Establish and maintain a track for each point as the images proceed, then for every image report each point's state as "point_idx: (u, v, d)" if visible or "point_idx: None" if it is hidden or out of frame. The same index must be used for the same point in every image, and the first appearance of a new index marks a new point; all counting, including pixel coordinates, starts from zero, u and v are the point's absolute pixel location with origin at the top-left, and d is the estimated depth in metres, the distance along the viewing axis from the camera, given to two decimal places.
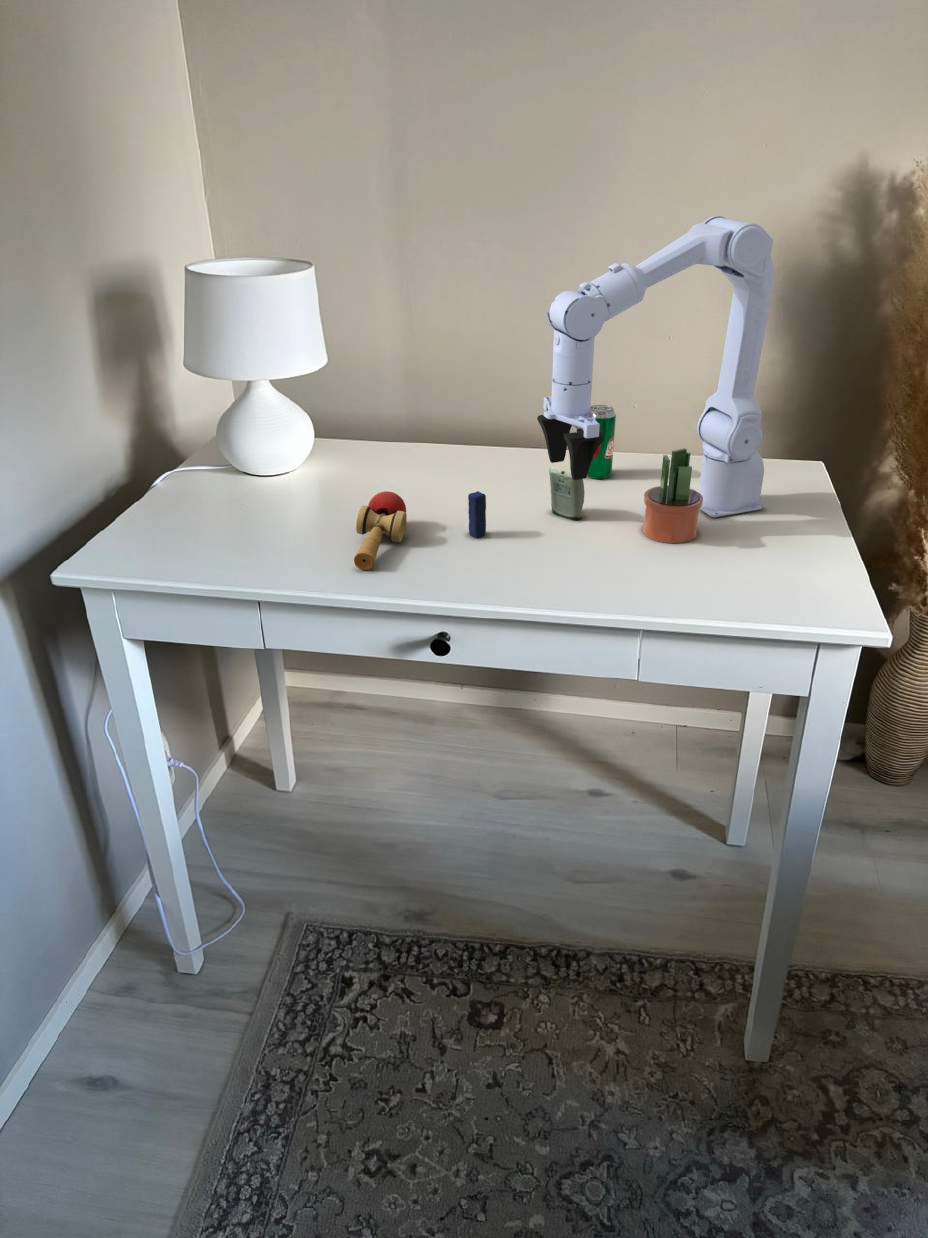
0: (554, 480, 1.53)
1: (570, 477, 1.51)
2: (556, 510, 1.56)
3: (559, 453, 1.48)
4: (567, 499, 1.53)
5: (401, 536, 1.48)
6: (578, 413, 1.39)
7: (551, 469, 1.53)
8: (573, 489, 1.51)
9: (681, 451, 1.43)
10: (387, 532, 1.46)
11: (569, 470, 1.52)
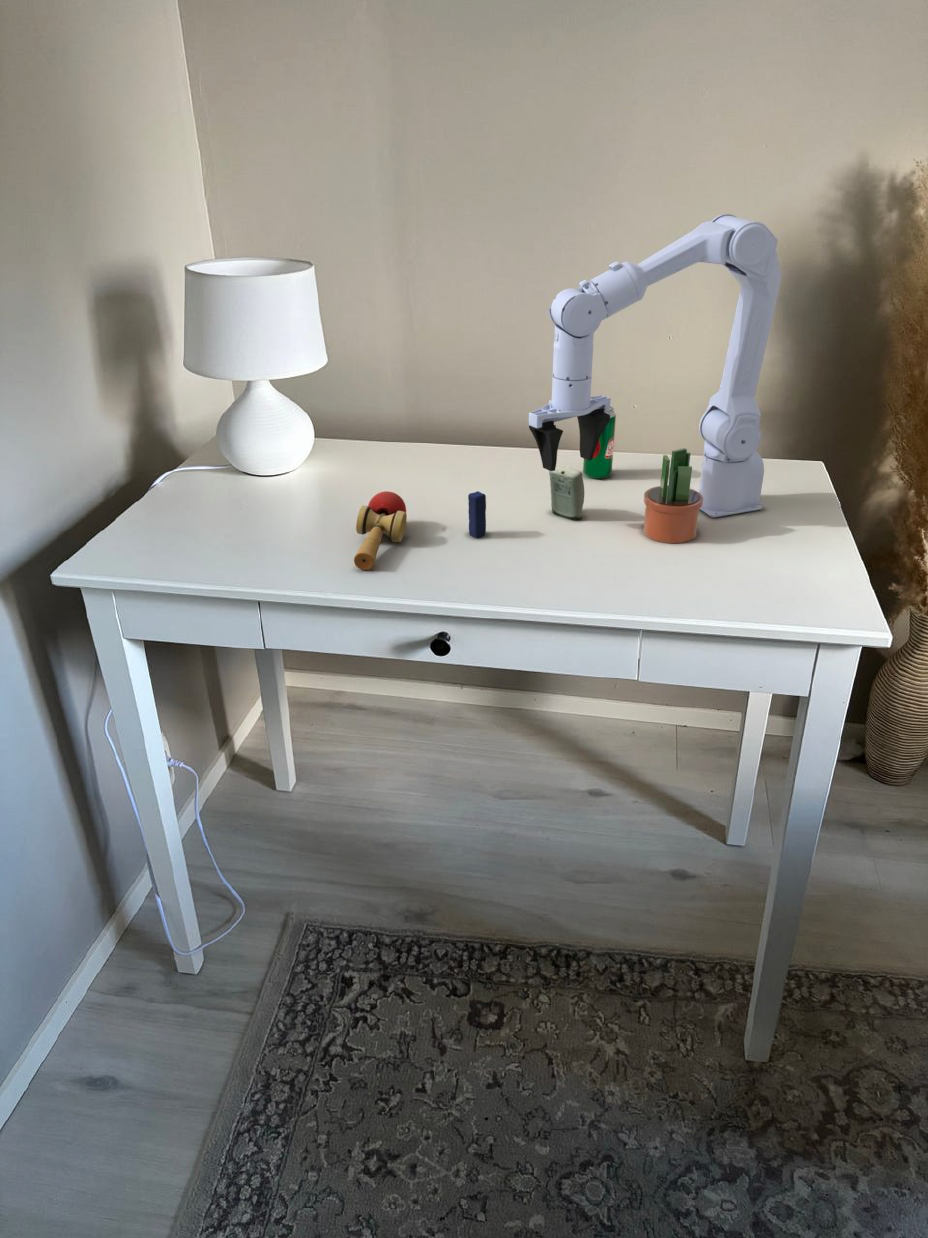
0: (554, 480, 1.53)
1: (570, 477, 1.51)
2: (556, 510, 1.56)
3: (586, 450, 1.50)
4: (567, 499, 1.53)
5: (401, 536, 1.48)
6: (555, 406, 1.43)
7: None
8: (573, 489, 1.51)
9: (681, 451, 1.43)
10: (387, 532, 1.46)
11: (569, 470, 1.52)
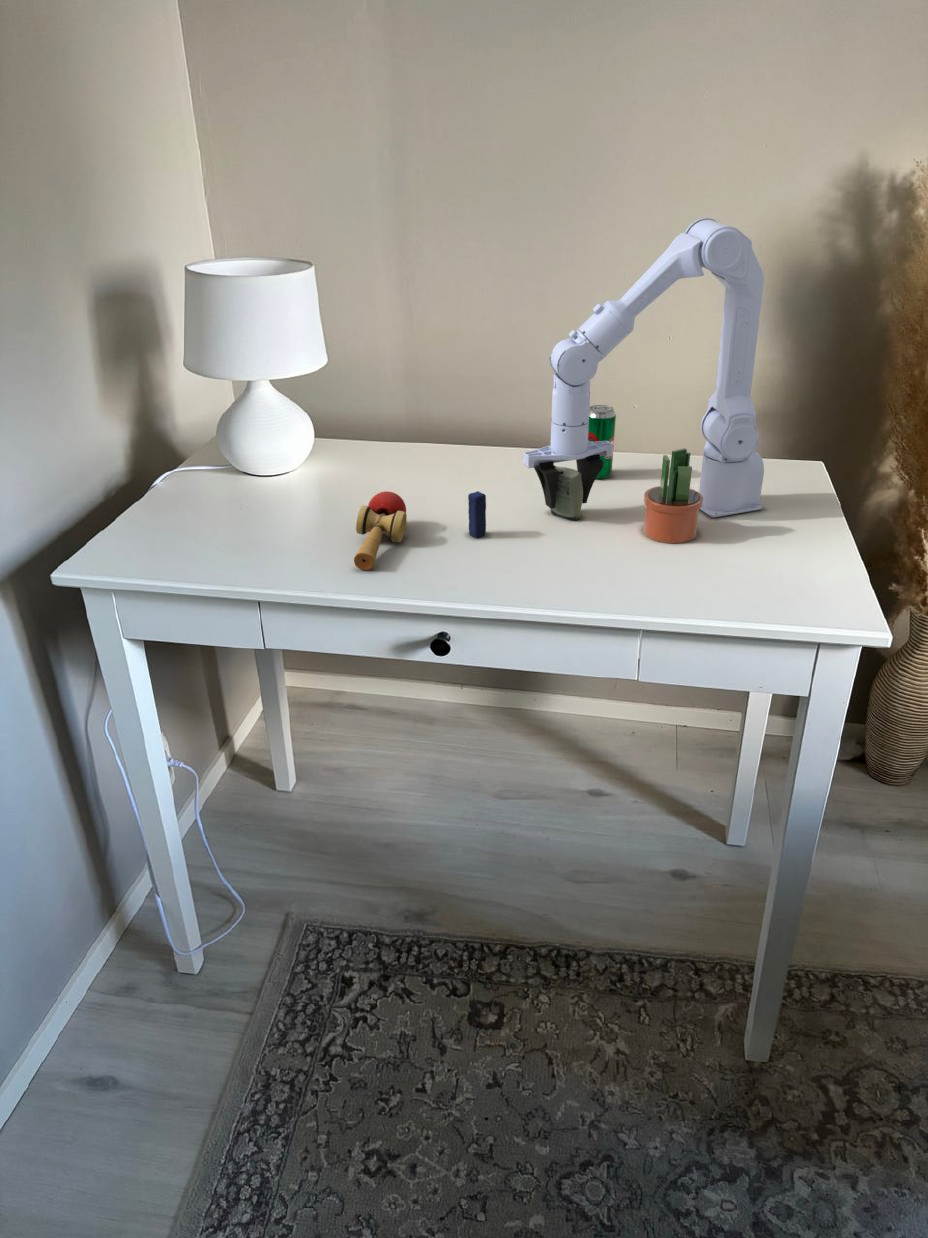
0: None
1: (569, 477, 1.51)
2: (554, 510, 1.56)
3: None
4: (566, 499, 1.53)
5: (401, 536, 1.48)
6: (551, 448, 1.50)
7: None
8: (572, 489, 1.51)
9: (681, 451, 1.43)
10: (387, 532, 1.46)
11: (568, 470, 1.52)
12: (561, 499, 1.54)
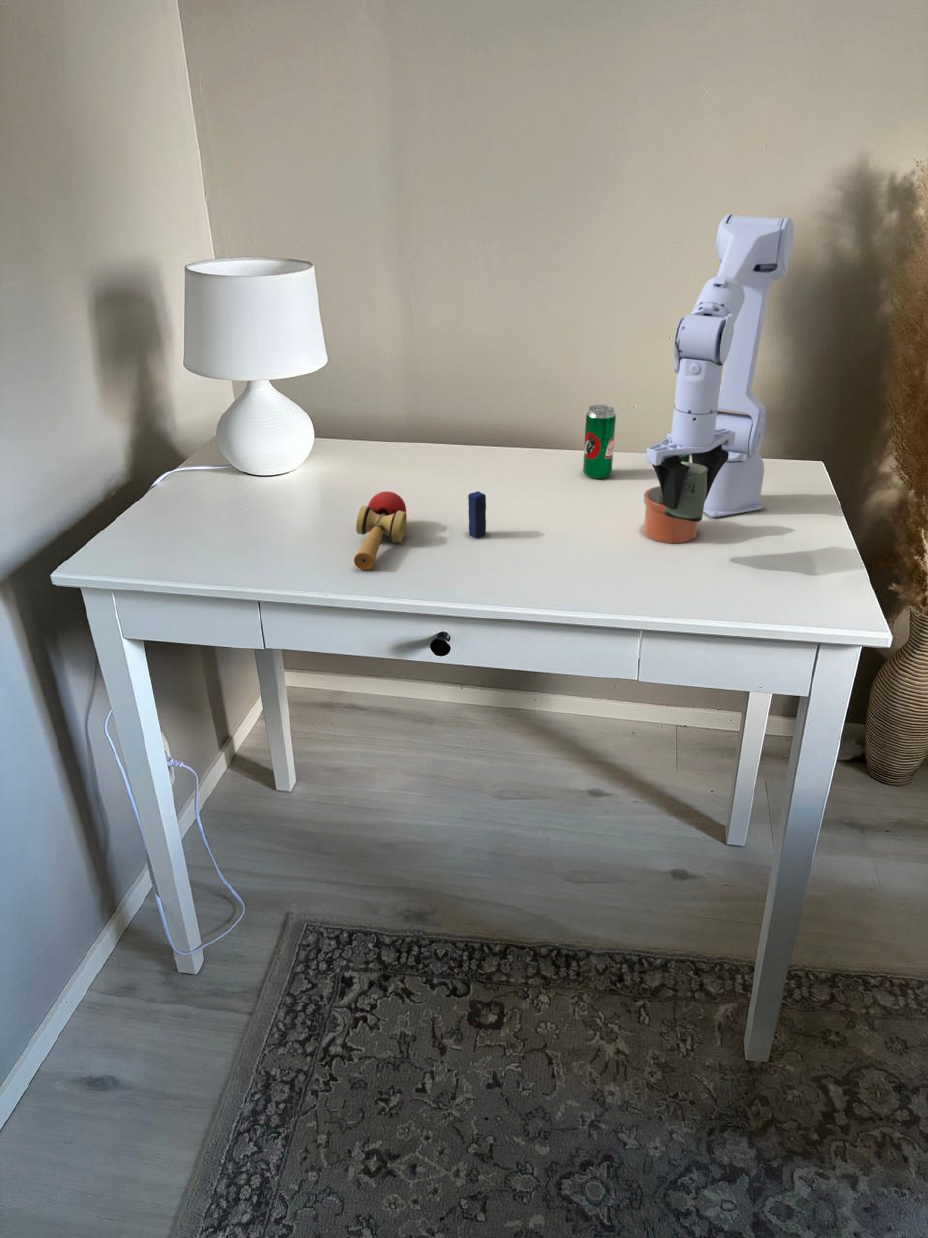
0: None
1: (696, 473, 1.32)
2: (671, 512, 1.37)
3: None
4: (689, 498, 1.34)
5: (401, 536, 1.48)
6: (675, 441, 1.31)
7: None
8: (699, 486, 1.32)
9: None
10: (387, 532, 1.46)
11: (692, 465, 1.33)
12: (682, 498, 1.35)
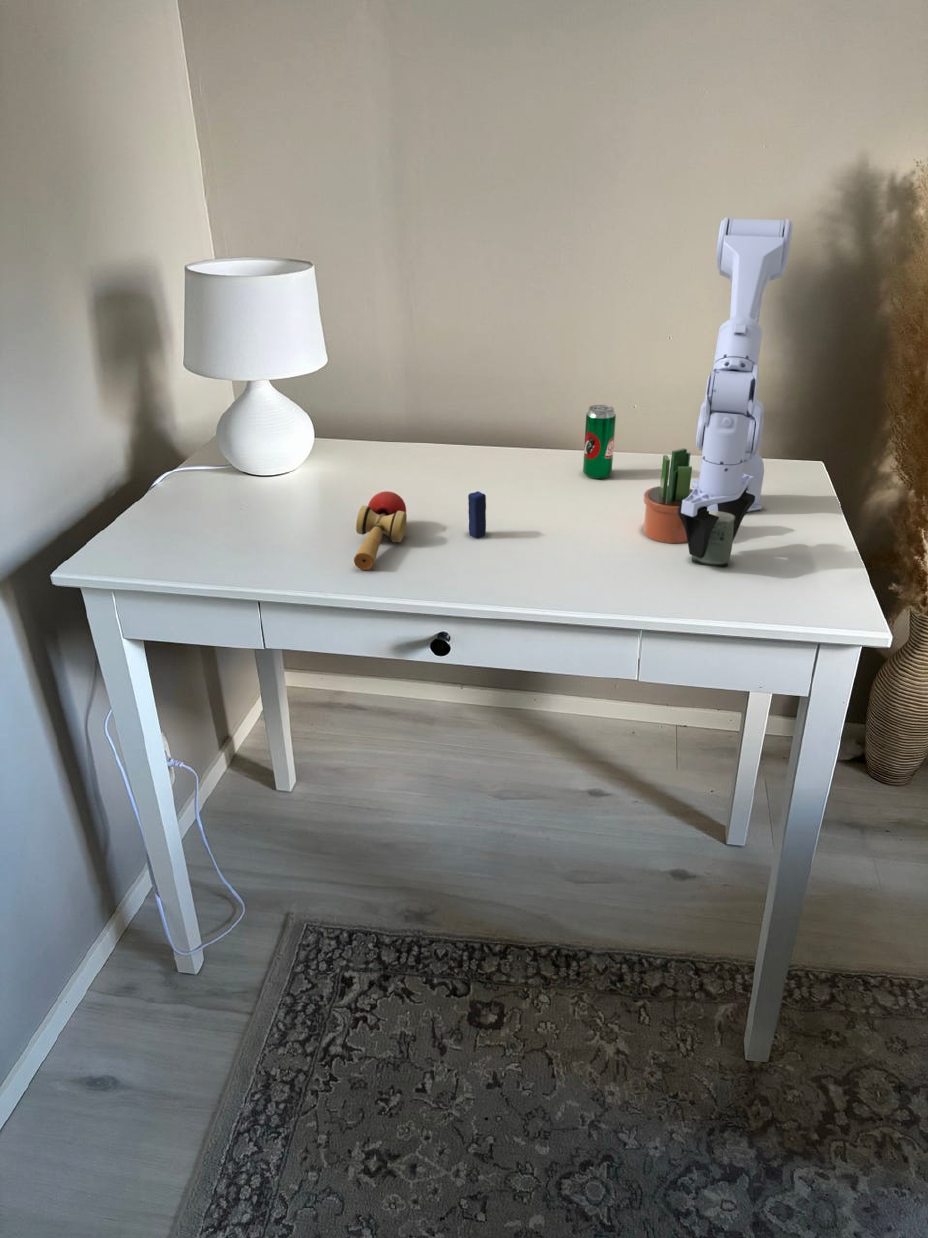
0: None
1: (725, 521, 1.35)
2: (699, 559, 1.40)
3: None
4: (717, 545, 1.38)
5: (401, 536, 1.48)
6: (706, 491, 1.34)
7: None
8: (728, 534, 1.36)
9: (681, 451, 1.43)
10: (387, 532, 1.46)
11: (719, 514, 1.36)
12: (710, 546, 1.38)
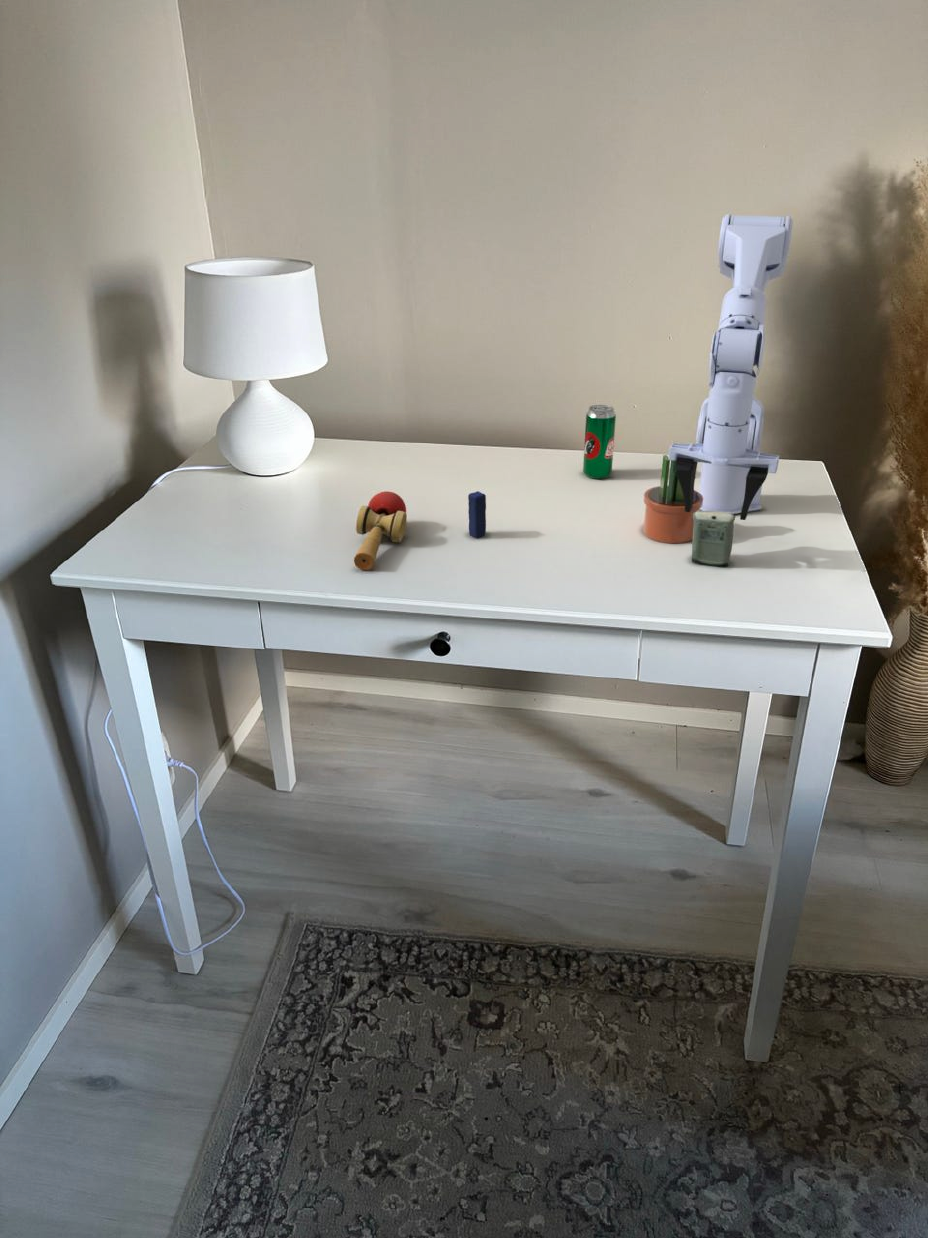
0: (702, 527, 1.37)
1: (725, 521, 1.35)
2: (699, 559, 1.40)
3: (692, 500, 1.38)
4: (717, 545, 1.38)
5: (401, 536, 1.48)
6: (745, 451, 1.32)
7: (697, 515, 1.37)
8: (728, 534, 1.36)
9: None
10: (387, 532, 1.46)
11: (719, 514, 1.36)
12: (710, 546, 1.38)
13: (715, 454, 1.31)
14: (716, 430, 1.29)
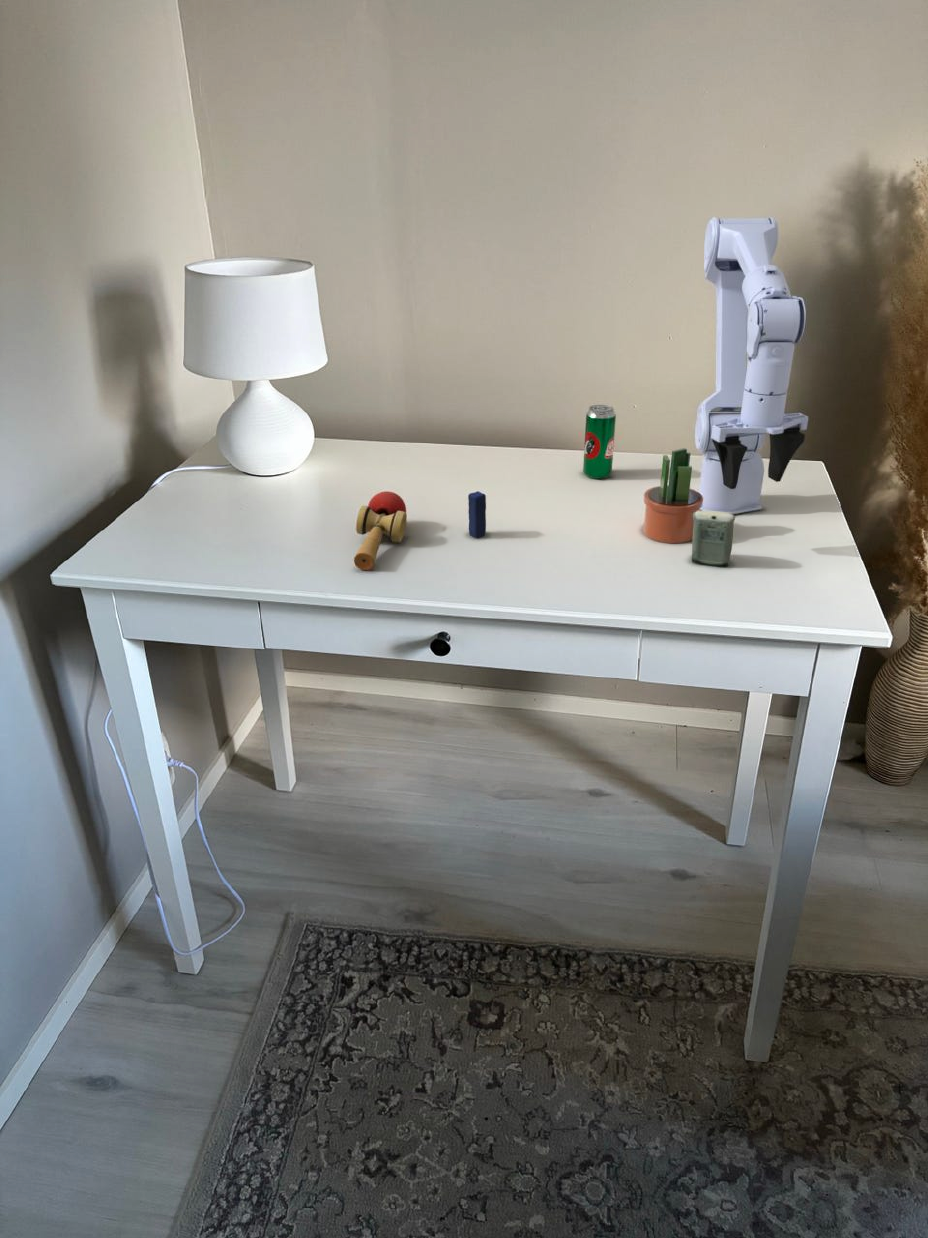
0: (702, 527, 1.37)
1: (725, 521, 1.35)
2: (699, 559, 1.40)
3: None
4: (717, 545, 1.38)
5: (401, 536, 1.48)
6: None
7: (697, 515, 1.37)
8: (728, 534, 1.36)
9: (681, 451, 1.43)
10: (387, 532, 1.46)
11: (719, 514, 1.36)
12: (710, 546, 1.38)
13: (769, 424, 1.33)
14: (770, 401, 1.31)
